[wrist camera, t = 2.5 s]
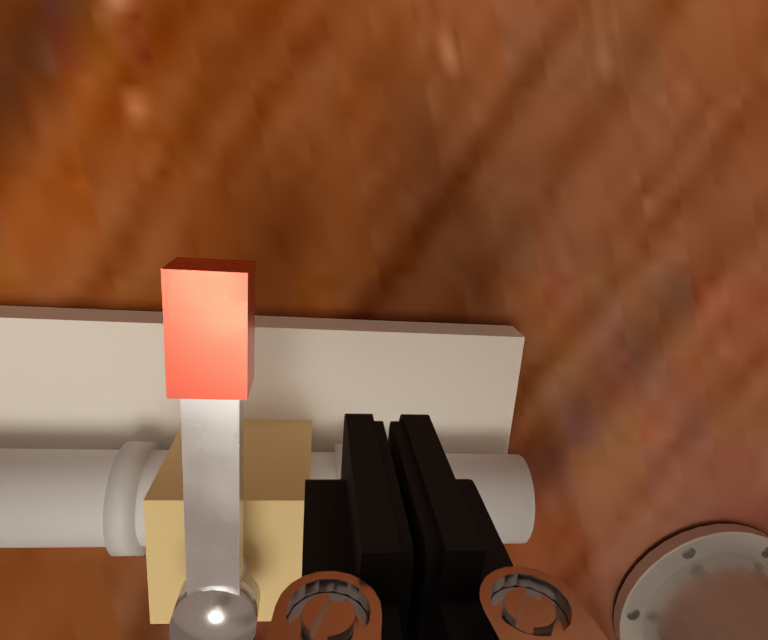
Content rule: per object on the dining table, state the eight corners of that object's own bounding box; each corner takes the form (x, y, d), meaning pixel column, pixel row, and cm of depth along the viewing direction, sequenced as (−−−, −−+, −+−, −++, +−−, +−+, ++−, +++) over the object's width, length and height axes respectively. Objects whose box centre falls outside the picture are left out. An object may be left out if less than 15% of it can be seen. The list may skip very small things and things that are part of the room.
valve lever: (260, 625, 22) (254, 665, 20) (181, 627, 22) (169, 668, 20) (264, 261, 18) (258, 273, 16) (167, 256, 17) (150, 268, 16)
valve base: (512, 325, 31) (602, 409, 21) (485, 511, 34) (552, 660, 24) (-34, 303, 28) (-238, 391, 18) (-4, 512, 31) (-160, 684, 21)
